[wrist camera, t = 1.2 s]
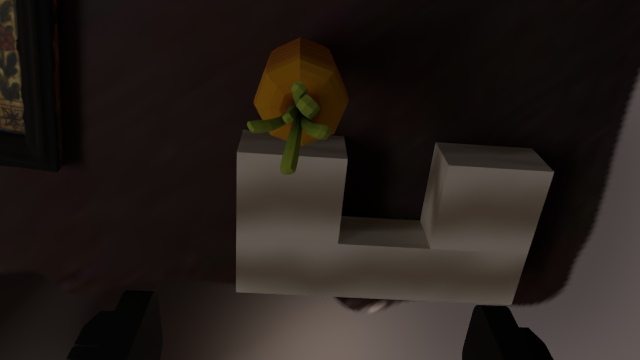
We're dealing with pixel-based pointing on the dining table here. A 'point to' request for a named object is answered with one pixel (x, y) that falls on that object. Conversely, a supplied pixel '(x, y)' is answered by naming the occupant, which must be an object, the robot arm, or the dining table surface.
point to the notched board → (387, 225)
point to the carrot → (299, 98)
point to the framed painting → (30, 85)
